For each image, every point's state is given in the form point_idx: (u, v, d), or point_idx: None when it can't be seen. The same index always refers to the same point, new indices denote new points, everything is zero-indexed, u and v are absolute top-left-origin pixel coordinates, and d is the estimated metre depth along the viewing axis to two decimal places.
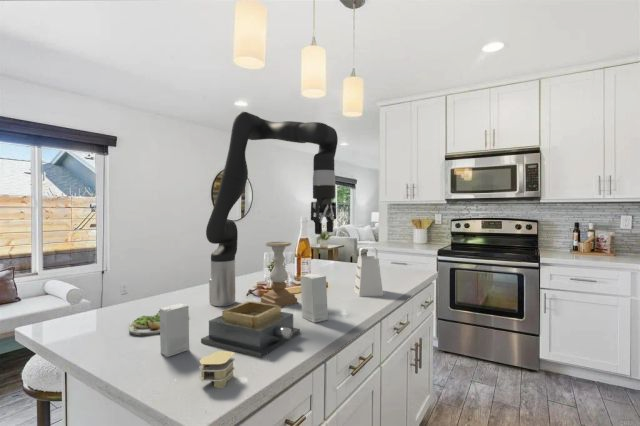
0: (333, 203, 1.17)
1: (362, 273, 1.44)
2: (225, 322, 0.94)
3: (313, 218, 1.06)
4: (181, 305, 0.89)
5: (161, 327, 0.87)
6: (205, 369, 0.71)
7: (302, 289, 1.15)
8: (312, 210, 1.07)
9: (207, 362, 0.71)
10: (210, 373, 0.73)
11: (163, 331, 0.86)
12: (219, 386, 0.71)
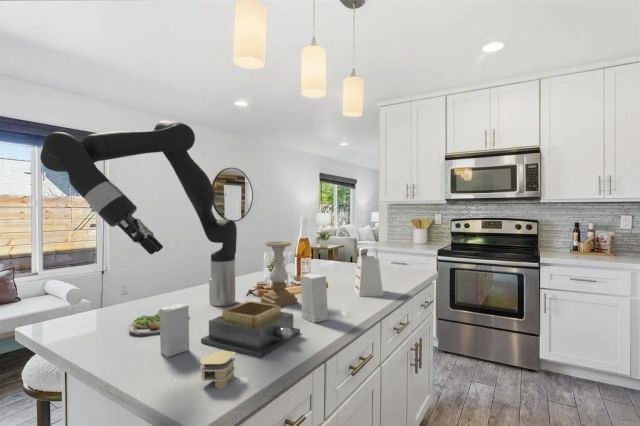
0: None
1: (362, 273, 1.44)
2: (225, 322, 0.94)
3: None
4: (181, 305, 0.89)
5: (161, 327, 0.87)
6: (206, 369, 0.71)
7: (302, 289, 1.15)
8: None
9: (208, 362, 0.71)
10: (211, 373, 0.73)
11: (163, 331, 0.86)
12: (220, 386, 0.71)
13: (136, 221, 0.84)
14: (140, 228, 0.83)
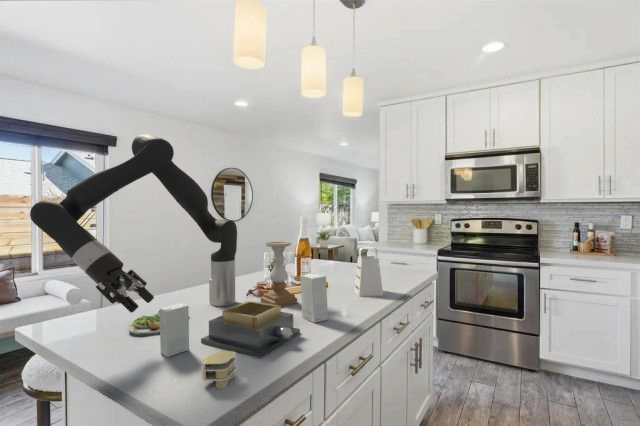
0: None
1: (362, 273, 1.44)
2: (225, 322, 0.94)
3: None
4: (181, 305, 0.89)
5: (161, 327, 0.87)
6: (207, 369, 0.71)
7: (302, 289, 1.15)
8: None
9: (209, 362, 0.71)
10: (212, 373, 0.73)
11: (163, 331, 0.86)
12: (221, 386, 0.71)
13: (119, 279, 0.86)
14: (120, 286, 0.84)
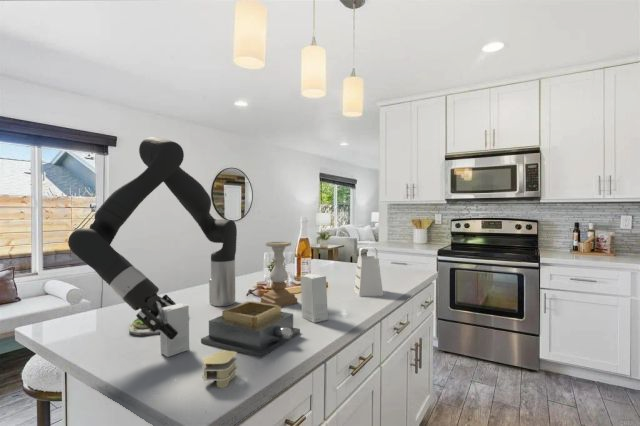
0: None
1: (362, 273, 1.44)
2: (225, 322, 0.94)
3: None
4: (181, 305, 0.89)
5: None
6: (208, 369, 0.71)
7: (302, 289, 1.15)
8: None
9: (210, 362, 0.71)
10: (213, 373, 0.73)
11: None
12: (222, 385, 0.71)
13: (156, 305, 0.86)
14: (160, 314, 0.85)
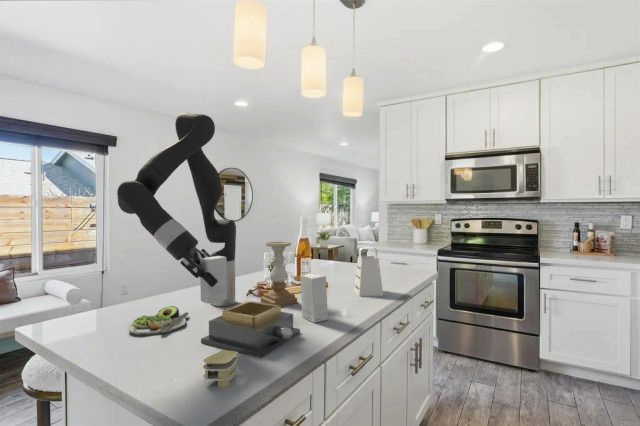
0: None
1: (362, 273, 1.44)
2: (225, 322, 0.94)
3: None
4: (219, 256, 0.94)
5: None
6: (209, 368, 0.71)
7: (302, 289, 1.15)
8: None
9: (211, 361, 0.72)
10: (214, 372, 0.73)
11: (203, 280, 0.91)
12: (223, 385, 0.71)
13: (197, 255, 0.91)
14: (201, 263, 0.90)
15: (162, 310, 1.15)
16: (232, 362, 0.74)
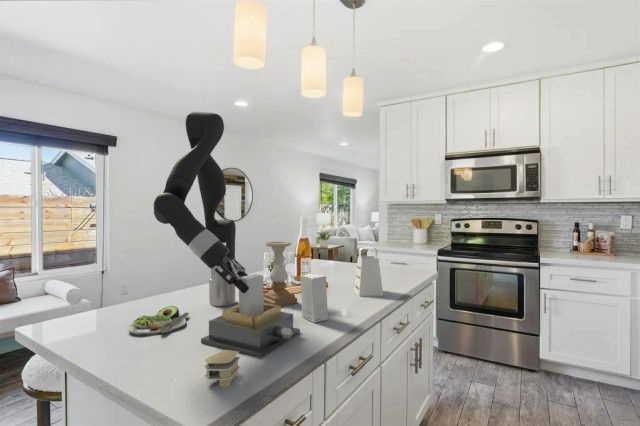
0: None
1: (362, 273, 1.44)
2: (225, 322, 0.94)
3: None
4: (256, 275, 0.98)
5: (240, 294, 0.96)
6: (210, 368, 0.71)
7: (302, 289, 1.15)
8: None
9: (212, 361, 0.72)
10: (215, 372, 0.74)
11: (242, 297, 0.95)
12: (224, 385, 0.71)
13: (229, 263, 0.95)
14: (233, 270, 0.94)
15: (162, 310, 1.15)
16: (233, 362, 0.74)
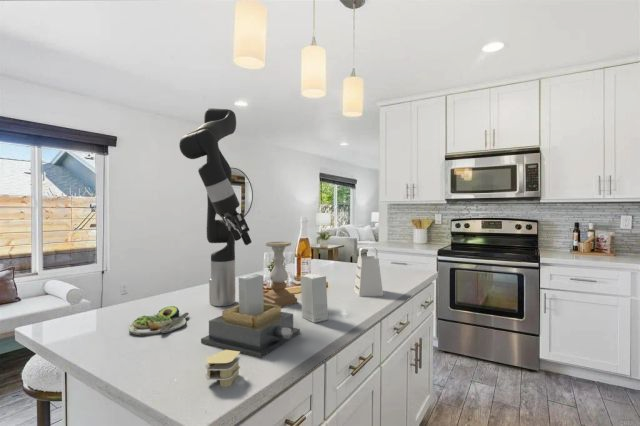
0: None
1: (362, 273, 1.44)
2: (225, 322, 0.94)
3: None
4: (257, 275, 0.98)
5: (240, 294, 0.96)
6: (211, 368, 0.71)
7: (302, 289, 1.15)
8: None
9: (213, 361, 0.72)
10: (216, 372, 0.74)
11: (242, 298, 0.95)
12: (225, 385, 0.71)
13: None
14: None
15: (162, 310, 1.15)
16: (234, 362, 0.74)
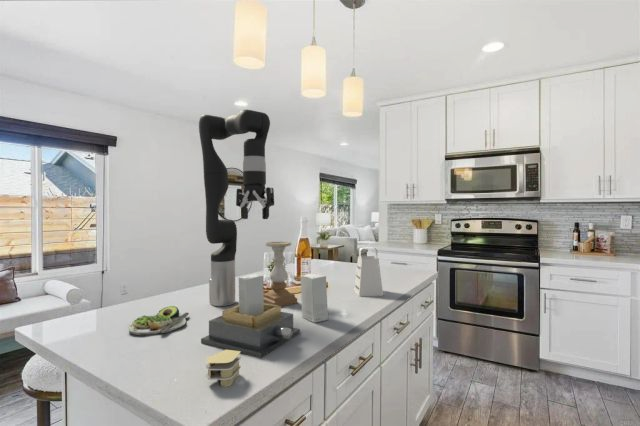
0: None
1: (362, 273, 1.44)
2: (225, 322, 0.94)
3: None
4: (257, 275, 0.98)
5: (240, 294, 0.96)
6: (212, 368, 0.71)
7: (302, 289, 1.15)
8: None
9: (214, 361, 0.72)
10: (216, 372, 0.74)
11: (242, 298, 0.95)
12: (226, 385, 0.71)
13: None
14: (266, 199, 1.13)
15: (162, 310, 1.15)
16: (235, 361, 0.74)
